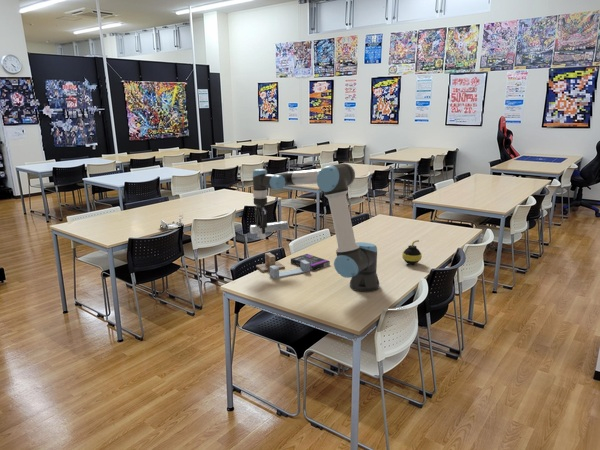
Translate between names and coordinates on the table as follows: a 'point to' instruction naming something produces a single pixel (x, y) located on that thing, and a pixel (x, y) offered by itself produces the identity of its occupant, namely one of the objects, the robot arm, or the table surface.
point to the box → (311, 261)
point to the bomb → (412, 254)
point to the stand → (269, 263)
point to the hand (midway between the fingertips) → (261, 237)
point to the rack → (303, 269)
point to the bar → (269, 227)
